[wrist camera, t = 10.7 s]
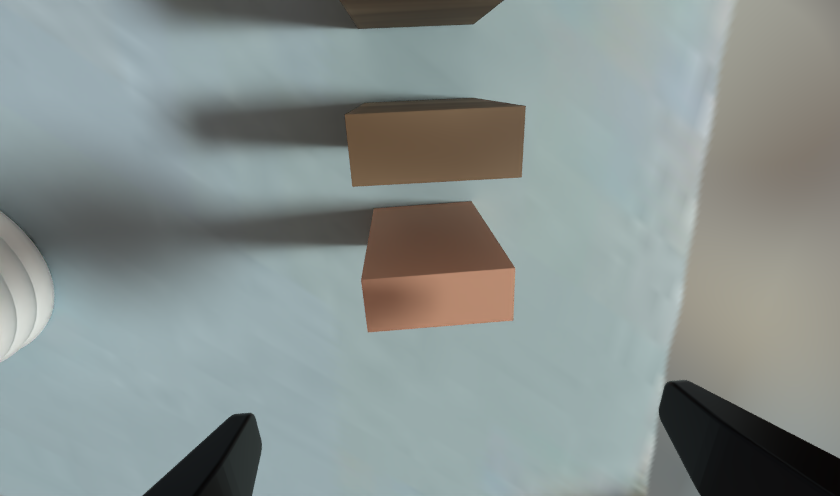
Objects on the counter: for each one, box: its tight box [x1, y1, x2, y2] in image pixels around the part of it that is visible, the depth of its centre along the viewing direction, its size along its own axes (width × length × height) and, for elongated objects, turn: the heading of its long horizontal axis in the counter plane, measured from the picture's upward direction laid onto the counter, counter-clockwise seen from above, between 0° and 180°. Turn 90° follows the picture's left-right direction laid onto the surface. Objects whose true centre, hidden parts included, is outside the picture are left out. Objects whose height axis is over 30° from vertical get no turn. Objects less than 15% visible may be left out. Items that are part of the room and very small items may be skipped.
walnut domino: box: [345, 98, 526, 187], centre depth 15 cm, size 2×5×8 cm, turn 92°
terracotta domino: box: [361, 201, 515, 332], centre depth 17 cm, size 2×5×8 cm, turn 93°
